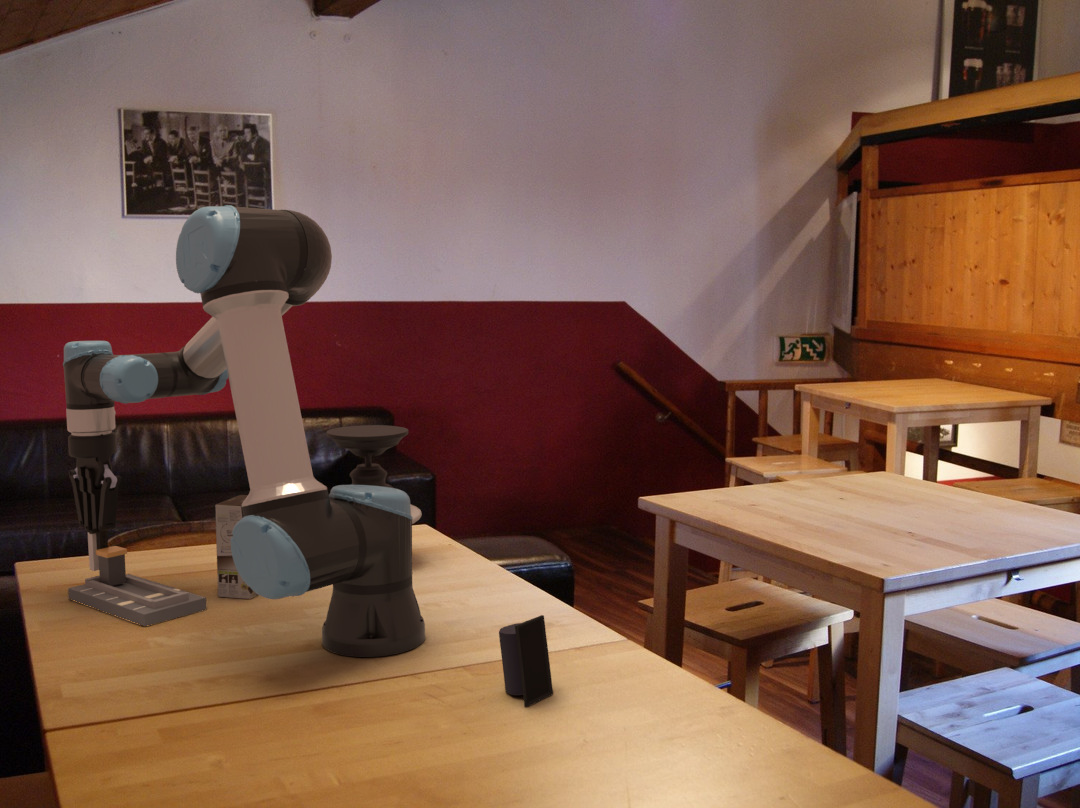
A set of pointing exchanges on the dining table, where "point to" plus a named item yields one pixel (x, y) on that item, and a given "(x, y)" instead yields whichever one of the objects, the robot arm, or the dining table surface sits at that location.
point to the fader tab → (112, 565)
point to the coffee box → (229, 550)
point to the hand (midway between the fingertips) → (99, 568)
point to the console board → (138, 599)
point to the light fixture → (370, 452)
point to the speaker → (526, 660)
